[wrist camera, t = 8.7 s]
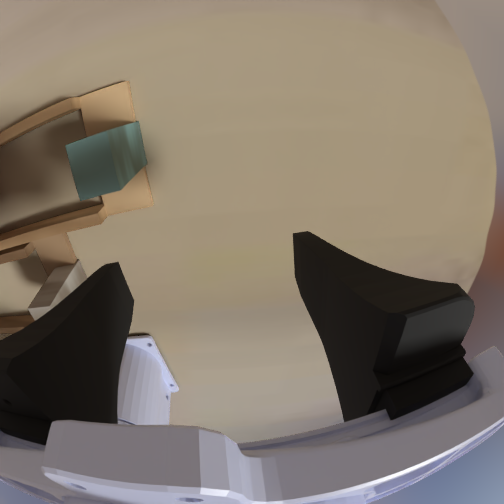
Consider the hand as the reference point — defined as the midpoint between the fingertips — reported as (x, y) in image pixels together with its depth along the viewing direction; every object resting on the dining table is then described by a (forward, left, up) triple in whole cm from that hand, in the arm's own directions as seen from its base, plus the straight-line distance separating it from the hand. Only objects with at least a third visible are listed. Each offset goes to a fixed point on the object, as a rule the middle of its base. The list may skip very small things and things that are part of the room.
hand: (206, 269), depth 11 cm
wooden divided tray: (+5, +14, -9) cm, 17 cm away
